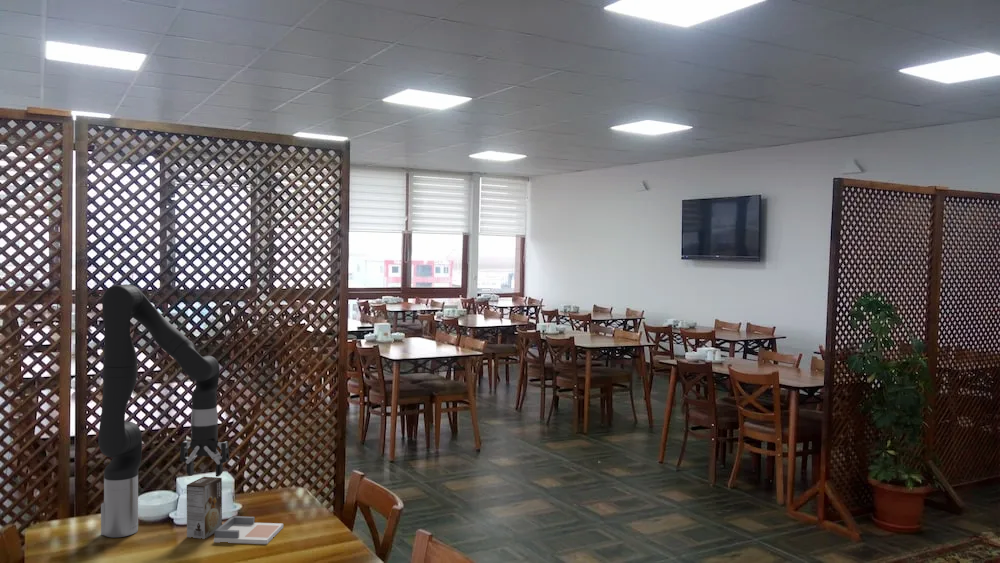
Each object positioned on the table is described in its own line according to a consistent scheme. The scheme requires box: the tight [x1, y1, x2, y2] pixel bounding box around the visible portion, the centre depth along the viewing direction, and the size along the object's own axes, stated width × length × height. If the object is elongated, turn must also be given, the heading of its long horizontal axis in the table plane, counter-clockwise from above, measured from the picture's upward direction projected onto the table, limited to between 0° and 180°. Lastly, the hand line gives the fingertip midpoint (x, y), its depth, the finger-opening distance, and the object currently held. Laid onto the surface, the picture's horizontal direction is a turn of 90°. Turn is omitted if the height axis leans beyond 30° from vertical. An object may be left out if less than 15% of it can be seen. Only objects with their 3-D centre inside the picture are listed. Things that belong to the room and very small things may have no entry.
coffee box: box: [186, 476, 223, 540], centre depth 229 cm, size 9×6×16 cm
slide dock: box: [213, 515, 284, 545], centre depth 229 cm, size 16×14×3 cm
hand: (204, 475), depth 229 cm, fingers open, 8 cm apart
